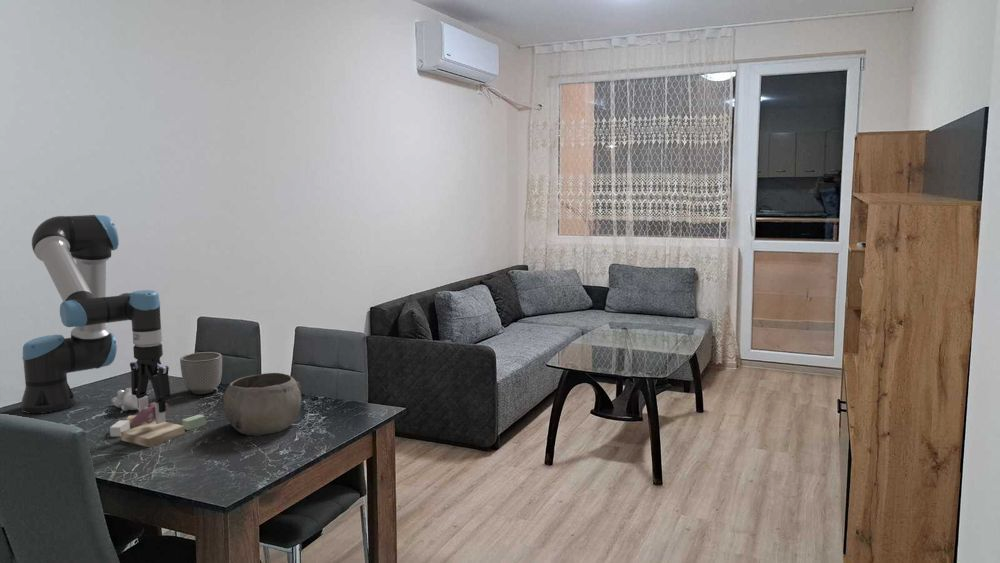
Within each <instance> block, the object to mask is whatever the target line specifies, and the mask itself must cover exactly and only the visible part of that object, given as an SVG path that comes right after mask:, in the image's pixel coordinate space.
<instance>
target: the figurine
mask: <svg viewBox="0 0 1000 563" xmlns="http://www.w3.org/2000/svg"><path fill="white" fill-rule="evenodd" d="M136 390H137V389H136ZM146 396H147V395H146ZM146 396H144V397H146ZM111 404H113V405H114V406H115V407H116V408H120V409H121V411H120V413H121V414H123V412H128V411H136V410H139V408H138V399H137V398H136V395H132V389H131V386H129V387H126V388H125V390H122V389H119V390H118V391H117V392H116V396H113V397H111Z"/></svg>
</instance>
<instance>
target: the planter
mask: <svg viewBox="0 0 1000 563" xmlns="http://www.w3.org/2000/svg"><path fill="white" fill-rule="evenodd" d="M179 362H180V363H179V364H180V371H181V378H182V383H183V385H184V386H185V388H186V389H187V390H189V391H191V392H192V394H194V395H207V394H211V393H213V392H214V390H215V388H218V386H219V385H220V384H221V381H222V375H223V354H221V353H220V352H215V351H202V352H193V353H188V354H184V355H183V356H181V357H179Z"/></svg>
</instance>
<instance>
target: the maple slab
mask: <svg viewBox="0 0 1000 563" xmlns="http://www.w3.org/2000/svg"><path fill="white" fill-rule="evenodd" d="M185 431H186V429H185V428H184V426H182V424H177V423H172V422H167V421H165V422H163V423H160V424H156V420H155V419H154V420H153V421H152V422H151V423H150V424H148V423H146V424H143V425H140V426H137V427H130V429H128V430H126V431H123V432H121V436H120V437H121V438H120V439H121V441H122V442H127V443H130V444H134V445H140V446H142V447H147V448H151V447H154V446H157V445H159V444H162V443H165V442H168V441H170V440H173V439H175V438H179V437H181V436H184V435H185V434H186V432H185ZM178 436H179V437H178Z"/></svg>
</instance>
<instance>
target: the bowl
mask: <svg viewBox="0 0 1000 563" xmlns="http://www.w3.org/2000/svg"><path fill="white" fill-rule="evenodd" d="M301 389H302V387H301V385H300V383H299V381H297V380H295V378H294V377H292V375H289V374H285V373H281V372H267V373H261V374H260V373H259V374H254V375H253V374H252V375H247V376H244V377H240V378H237V379H236V380H234V381H232V382H231V383H229V385H228V386H227V387H226V390H225V392H222V396H221V400H223V409H224V410H223V411H224V415H225V417H226V419H227V421H228V423H230V426H232V427H233V428H234V429H235V430H236V431H237V432H239V433H240V434H243V435H248V436H263V435H264V436H265V435H269V434H270V435H271V434H274V433H275V434H276V433H279V432H281V431H284V430H286V429H288V428H289V427H291V426H292V425H293V423H294V422H295V420H296V419H297V417H298V415H299V413H300V410H301V406H302V394H301V393H302V392H301Z"/></svg>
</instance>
